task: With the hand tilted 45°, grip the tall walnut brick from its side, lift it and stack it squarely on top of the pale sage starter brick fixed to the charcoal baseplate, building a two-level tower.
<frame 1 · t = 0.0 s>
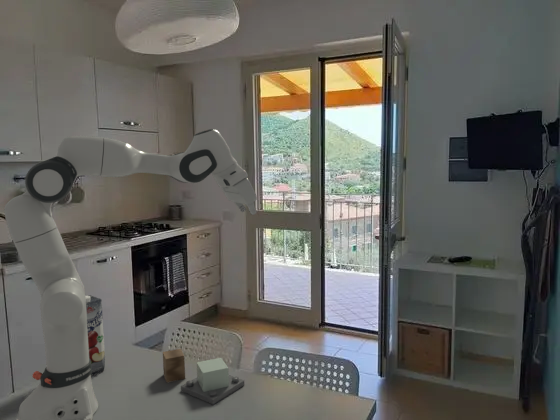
hand: (248, 212, 145), 54 cm above the table, tool tilted 30°, fingers open, 8 cm apart
walnut brick: (174, 376, 147), on the table
baseplate: (213, 387, 139), on the table
juice carton: (87, 373, 151), on the table
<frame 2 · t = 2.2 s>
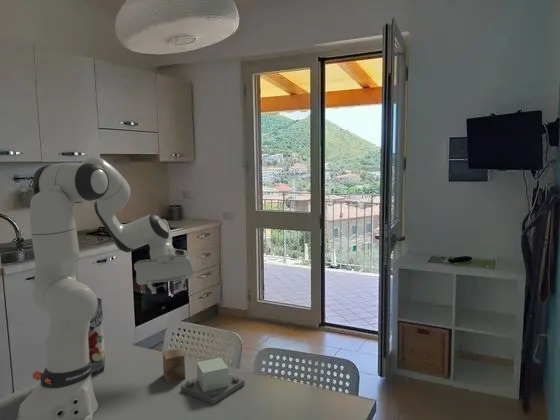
hand: (167, 291, 156), 26 cm above the table, tool tilted 45°, fingers open, 8 cm apart
nothing on the table moved.
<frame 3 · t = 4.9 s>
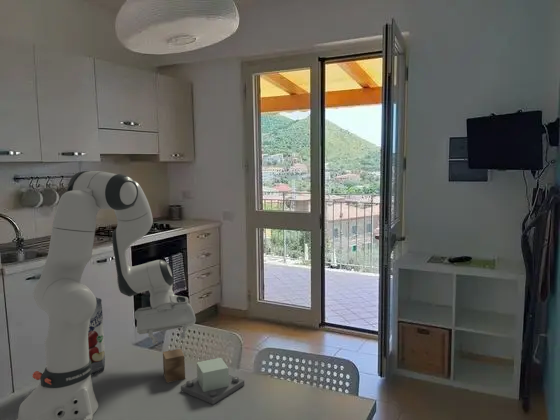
hand: (169, 340, 152), 10 cm above the table, tool tilted 45°, fingers open, 8 cm apart
nothing on the table moved.
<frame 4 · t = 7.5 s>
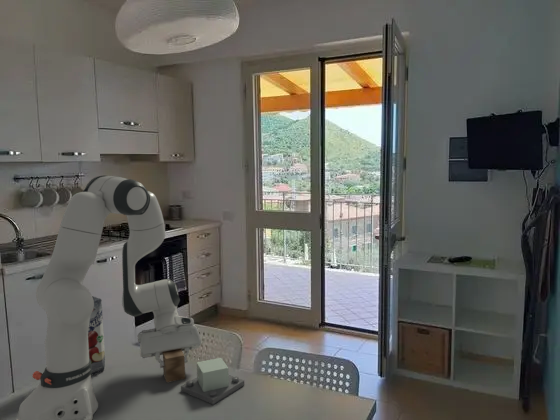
hand: (174, 364, 146), 4 cm above the table, tool tilted 45°, fingers closed on walnut brick, 6 cm apart
walnut brick: (174, 376, 147), on the table, touching gripper
everything else where it was.
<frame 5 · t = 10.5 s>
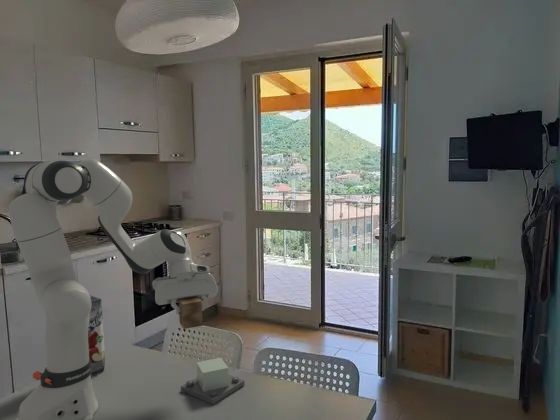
hand: (191, 311, 140), 24 cm above the table, tool tilted 45°, fingers closed on walnut brick, 6 cm apart
walnut brick: (190, 324, 141), point 19 cm above the table, touching gripper
everything else where it was.
when the fingers open (13 cm above the table, at t = 13.9 s): walnut brick drops 1 cm, resting on baseplate.
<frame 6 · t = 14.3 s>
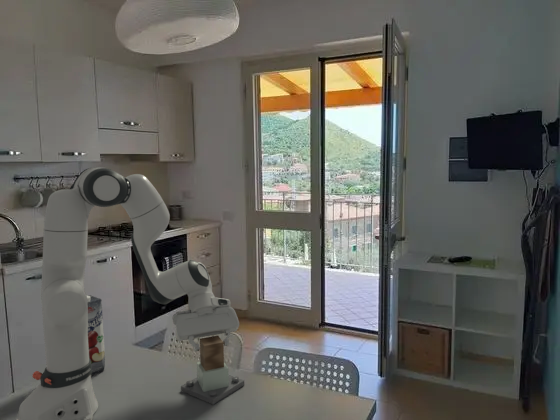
hand: (212, 347, 137), 13 cm above the table, tool tilted 45°, fingers open, 8 cm apart
walnut brick: (212, 365, 138), point 7 cm above the table, touching baseplate
everything else where it was.
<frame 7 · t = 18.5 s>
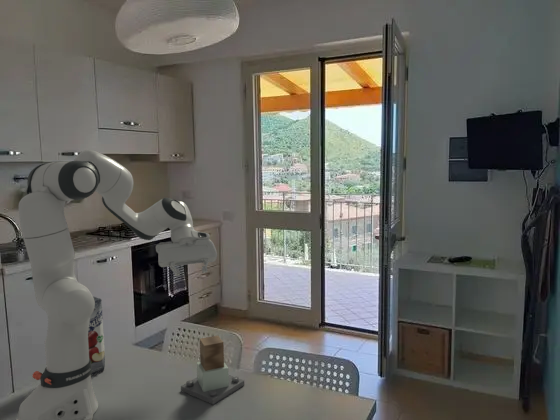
hand: (191, 273, 150), 33 cm above the table, tool tilted 45°, fingers open, 8 cm apart
nothing on the table moved.
at the end: walnut brick 0.0 cm off-centre on the baseplate, point 7.5 cm above the baseplate's base; walnut brick tilted 0°; the gripper is holding nothing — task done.
